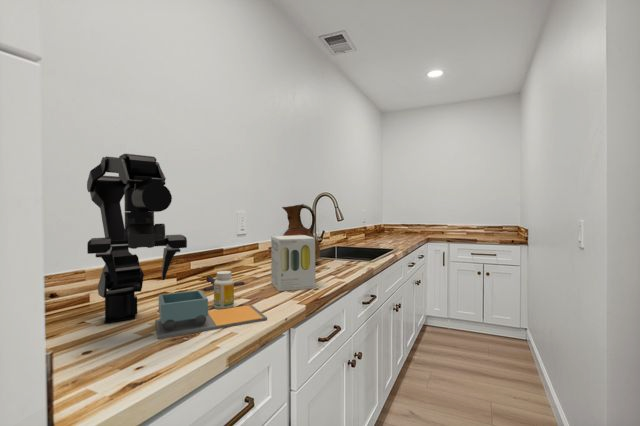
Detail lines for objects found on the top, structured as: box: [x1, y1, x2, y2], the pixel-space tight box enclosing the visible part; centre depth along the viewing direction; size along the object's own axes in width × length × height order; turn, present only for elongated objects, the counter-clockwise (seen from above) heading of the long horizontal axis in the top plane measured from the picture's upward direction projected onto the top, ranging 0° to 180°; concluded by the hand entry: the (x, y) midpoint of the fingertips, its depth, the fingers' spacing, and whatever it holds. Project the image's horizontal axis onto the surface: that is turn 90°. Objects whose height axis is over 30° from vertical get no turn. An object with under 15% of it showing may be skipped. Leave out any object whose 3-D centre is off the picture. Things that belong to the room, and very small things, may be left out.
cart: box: [158, 289, 209, 331], centre depth 76 cm, size 10×10×6 cm
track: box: [154, 304, 268, 340], centre depth 80 cm, size 24×12×1 cm, turn 119°
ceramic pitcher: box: [281, 203, 321, 262], centre depth 162 cm, size 20×20×30 cm
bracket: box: [203, 275, 245, 292], centre depth 119 cm, size 14×15×3 cm
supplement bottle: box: [213, 270, 235, 310], centre depth 92 cm, size 5×5×10 cm
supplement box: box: [270, 235, 316, 292], centre depth 116 cm, size 13×13×18 cm
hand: (140, 282), depth 73 cm, fingers open, 9 cm apart
